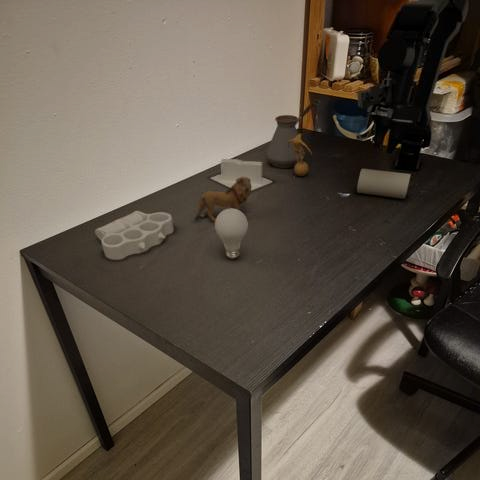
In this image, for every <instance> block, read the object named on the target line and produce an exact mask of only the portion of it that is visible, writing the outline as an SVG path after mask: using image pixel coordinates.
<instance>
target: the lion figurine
mask: <svg viewBox="0 0 480 480" xmlns="http://www.w3.org/2000/svg"><path fill="white" fill-rule="evenodd" d="M251 187H252V186H251V183H250V178H248V177H244V176H242V177H240V178H238V179H236V183H235V184H234V185H232V187H231V188H230V187H228V189H227V190H225V191H214V190H209V191H206V192H204V193H203V194H202V195H201V197H200V198H199V201H198V210H197V214H196V216H195V218H194V221H198V220H199V219H200V218H204V217H205V216H206V214H205V213H203V212H204V211H205V210H206V209H207V210H208V213H207V215H208V217H209V218H210V220H211V221H212V222H215V221H216V218H217V217H214V215H213V213H214V210H215V205H216V206H218V207H220V208H221V207H222V208H227V207H230V208H233V209H237V210H239V211H241V210H240V209H241V205H242V204H245V203H246V202H247V201H248V198H249V196H251V192H252V191H251Z"/></svg>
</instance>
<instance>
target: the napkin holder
mask: <svg viewBox="0 0 480 480" xmlns="http://www.w3.org/2000/svg"><path fill="white" fill-rule="evenodd" d="M220 169H221V170H220V174H216V175H214V176H211V177H210V180H213V181H215V182H217V183H219V184H221V185H223V186H226V187H228V188H231V187H232V185H234V184H235V183H236V179H238V178H240V177H242V176H244V177H248V178H250V183H251V186H252V187H251V191H250V192H252V191H254V190H257V189H260V188H263V187H264V186H266V185H267V186H268V185H269V184H272V183H273V181H272V180H271V179H269V178H268V179H267V178H265V177H263V161H251V160H249V161H248V160H247V161H246V160H242V159H238V158H237V159H234V158H222V159H221V161H220Z"/></svg>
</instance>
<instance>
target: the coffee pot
mask: <svg viewBox="0 0 480 480" xmlns="http://www.w3.org/2000/svg"><path fill="white" fill-rule="evenodd" d="M317 101H318V103H319V104H317ZM320 103H321V101H320V100H319V99H318V98H315V99H313V100H312V101H311V102H310V104H309V105H308V106H306V108H305V109H304V110H303V111H302V113H301V114H300V115H299V116H298V117H297V116H295V115H292V114H282V115H278V116H276V117H275V119H274V120H275V122H276V125H277V126H276V129H275V131H274V132H273V136H272V138H271V141H270V142H269V145H268V147H267V150H266V152H265V157H266V158H267V160H268V162H269V163H271V165H272V166H274V167H276V168H279V169H290V168H294V167H295V165H296V164H297V163H298V161H297V158H296V156H297V155H298V154H297V153H296V152H295V150H294V148H295V146H294V144H293V142H289V146H290V147H288V148H289V149H287V144H288V140H291V139H293V138H295V137H296V136H297V135H298V134H299V133H298V129H297V127H296V125H297V124H298V123H299V122H300V121H301V119H303V118H304V117H305V116H306V115H307V114H308V113H309V112H310V111H311V109H312V108H313V107H314V106H315V105H316V106H320ZM301 149H303V151H304V146H303V145H302V144H301ZM304 152H305V151H304ZM302 156H303V155H302V154H301V153H299V157H298V159H299V161H301V157H302Z"/></svg>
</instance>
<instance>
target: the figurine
mask: <svg viewBox="0 0 480 480" xmlns="http://www.w3.org/2000/svg"><path fill="white" fill-rule="evenodd" d="M289 142H293V144H294V146H295V148H294V150H295V152H296V153H297V154H298V155H297V156H296V158H297V161H298V163H297V164H296V165H295V166H294V167H293V168H294V169H293V170H294V173H295V175H297V176H298V177H304V176H306V175H307V174H308V172H309V165H308V163H307V162H306V161H303V160H304V157H305V155H306V152H305V151H303V150H304V148H303V149H301V144H302V147H305V148H306V149H307V151H308V152H309V153H310V155H311V156H313V152H312V151H311V149H310V148H309V147H308V145H307V144H306V143H305V142H304V141H303V140H302V134H301V133H298V135H297V136H296V137H295V138H293V139H291V140H288V144H287V149H289V148H288V147H290V146H289ZM299 153H301V154H302V155H303V156H302V157H301V161H299V159H298V157H299Z"/></svg>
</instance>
